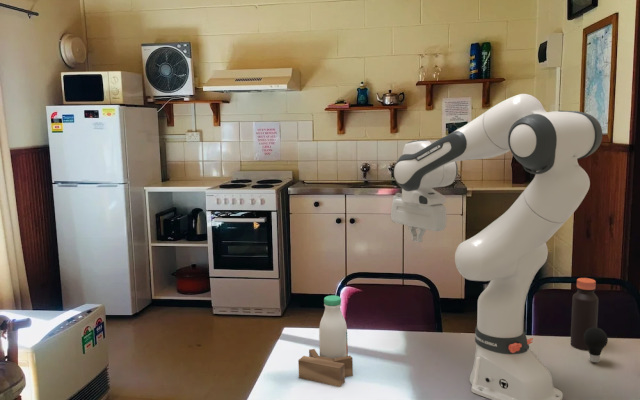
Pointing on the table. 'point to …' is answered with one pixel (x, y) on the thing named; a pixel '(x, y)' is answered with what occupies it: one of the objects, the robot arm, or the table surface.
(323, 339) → the milk bottle
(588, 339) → the light bulb
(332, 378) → the cradle
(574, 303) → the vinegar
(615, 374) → the table surface
